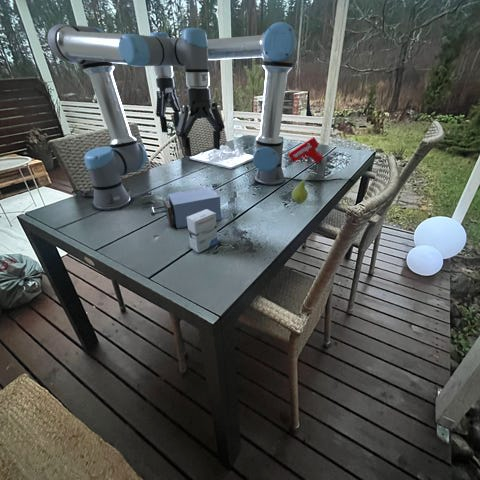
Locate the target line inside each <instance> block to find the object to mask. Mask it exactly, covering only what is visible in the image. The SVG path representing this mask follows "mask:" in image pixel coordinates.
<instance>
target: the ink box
mask: <svg viewBox="0 0 480 480" xmlns="http://www.w3.org/2000/svg"><path fill="white" fill-rule="evenodd" d="M187 225H188V226H187V233H188V239H189V247H190V248H191V249H192V250H193V251H195V252H196V253H198V254H199V253H201V252H203V251H205V250H207V249H209V248H211V247H213V246H214V245H215V246H216V244H218V243H219V242H218V241H219V240H218V239H219V238H218V227H217V220H216V213H214V212H212V211H210V210H208V209H206V210H203V211H201V212H198V213H195V214H193V215H190V216H188V217H187Z"/></svg>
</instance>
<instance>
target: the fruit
mask: <svg viewBox="0 0 480 480" xmlns="http://www.w3.org/2000/svg"><path fill="white" fill-rule="evenodd" d="M310 177H311V175H310V174H309V175H308V176H307V177H305V179H301V180H302V181H299V182H298V184H297V185H296V186H295V187H294V188H293V190H292V191H291V198H292V200H293V201H294V202H295V203H297V204H301V203H304V202H305V201H306V200H307V198H308V196H309V195H308V190H307V189H306V184H305V183H306V181H305V180H308V179H309V178H310Z"/></svg>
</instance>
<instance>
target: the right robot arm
mask: <svg viewBox="0 0 480 480" xmlns="http://www.w3.org/2000/svg"><path fill="white" fill-rule="evenodd" d="M149 36H153V37H164V38H170V37H169V34H168V32H164V31H154V32H151V33H150V34H149ZM207 45H208V61H219V60H234V59H254V58H262V67H263V69H264V70H265V71H264V72H265V78H264V88H263V97H262V98H263V99H262V109H261V119H260V131H259V135H258V136H257V137H255V147H254V152H253V154H252V155H253V160H252V163H253V165H254V166H255V168H256V169H257V171H256V174H255V177H254V181H255V183H258V184H259V185H262V186H263V185H264V186H279V185H281V184H283V183H284V181H285V180H290V181H297V182H301V181H302V180H303V179H302V178H301V179H300V178H291V177H287V176H285V175H284V172H283V171H284V170H283V167H282V165H283V152H284V151H283V150H284V143H285V141H284V136H283V135H280V133H281V126H282V120H283V119H282V118H283V112H284V104H285V95H286V89H287V81H288V74H289V72H290V71H291V70H292V69H293V66H294V59H295V53H296V51H297V49H298V48H297V47H298V37H297V33H296V32H295V30H294V27H292V25H290V24H289V23H287V22H284V21H277V22H275V23H273V24H271V25H269V27H268V28H267V29H266V31H264V32H262V34H258V35H248V36H247V35H246V36H235V37H234V36H233V37H221V38H209V39H208V38H207ZM153 70H154V75H155V77H156V78H155V82H156V88H158V89H160V90H157V91H156V110H155V115H156V117H157V118H159V122H160V129H161V133H165V134H166V133H169V128H168V121H167V117H166V112H167V108H168V107H167V105H168V103H169V104H170V107H171V109H172V110H173V112H172V115H173V123H174V124H173V125H174V127H175V128H177V127H178V123H179V119H180V113H181V104H180V101H179V98H178V95H177V91H176V89H175V80H174V71H173V66H169V67H168V66H153ZM342 178H343V177H341V178H340V177H339V178H338V177H337V178H331V179H306V180H305V179H304V180H305V182H330V181H343V180H344V181H345V179H342ZM348 178H349V177H348ZM347 180H349V181H350V182H354V180H353V179H352V178H349V179H347Z"/></svg>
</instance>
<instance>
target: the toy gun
mask: <svg viewBox="0 0 480 480" xmlns="http://www.w3.org/2000/svg"><path fill="white" fill-rule="evenodd" d="M318 147H319V142H318V141H317V139H316V138H315V137H314V136H313V137H311V138H309V139H308V140H306V141H305V142H303V143H302V144H301V145H299V146H297V147H296V148H294V149H293V150H291V151H290V152H289V153H288V154H287V155H288V157H289V159H290V161H291V162H292V163H295V162H297V161H299V160H300V159H302V158H303V159H304V160H308V159H309V158H311V159H312V160H314V161H315V164H316V165H318V164H319V163H320V162H321V163H322V161H323V159H324V156H323V155H322V154H321V153H320V152H319V151H317V148H318ZM316 162H319V163H316Z"/></svg>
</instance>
